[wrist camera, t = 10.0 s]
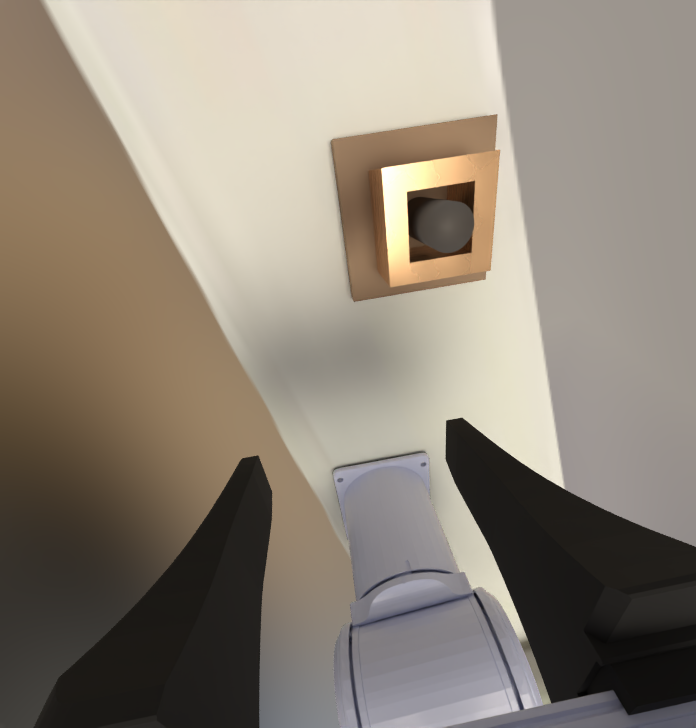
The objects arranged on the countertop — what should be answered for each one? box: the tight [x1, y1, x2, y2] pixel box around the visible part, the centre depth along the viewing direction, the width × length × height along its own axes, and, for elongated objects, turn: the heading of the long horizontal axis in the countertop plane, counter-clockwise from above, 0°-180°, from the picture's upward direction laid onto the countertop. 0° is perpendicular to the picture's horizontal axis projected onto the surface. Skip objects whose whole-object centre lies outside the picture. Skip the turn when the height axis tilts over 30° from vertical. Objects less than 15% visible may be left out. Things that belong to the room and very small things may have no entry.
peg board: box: [331, 114, 497, 302], centre depth 16 cm, size 8×8×6 cm
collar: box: [368, 150, 500, 287], centre depth 16 cm, size 5×5×3 cm
